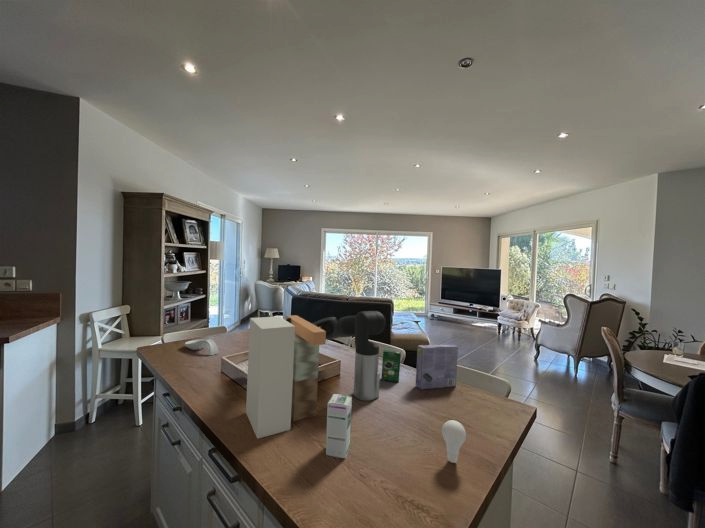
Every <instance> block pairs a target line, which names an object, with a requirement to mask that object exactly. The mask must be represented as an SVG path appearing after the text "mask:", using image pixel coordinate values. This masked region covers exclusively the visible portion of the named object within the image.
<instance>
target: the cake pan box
mask: <svg viewBox="0 0 705 528" xmlns="http://www.w3.org/2000/svg"><path fill="white" fill-rule="evenodd" d="M416 350H417V351H416V367H415V368H416V369H415V386H416V387H417V388H419V390H429V389H431V390H432V389H441V388H442V389H443V388H449V387H456V386H457V374H458V372H457V371H458V354H459V346H458V345H455V344H426V345H425V344H420V345H417V349H416Z"/></svg>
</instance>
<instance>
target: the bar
mask: <svg viewBox="0 0 705 528" xmlns="http://www.w3.org/2000/svg"><path fill="white" fill-rule="evenodd" d="M300 317H301V316H299V315H296V314H295V315H291V314H290V315H286V316H285V320H287V319H288V318H291V324H292V325H294V326H295V333H296V334H297V335H299V336H300V337H302V338H303V339H304V340H306V341H307V342H309V343H310V344H312V345H313V346H316V345H319V346H322V345H323V346H324V345H326V342H327V341H326V340H327V339H326V331H324V330H323V329H321V328H320V327H317V326H315V325H313V324H312V323H313V322H310V321H308V320H306V319H305V318H304V319H302V318H300Z"/></svg>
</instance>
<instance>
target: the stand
mask: <svg viewBox="0 0 705 528" xmlns="http://www.w3.org/2000/svg"><path fill="white" fill-rule="evenodd" d="M248 332H249V333H248V334H249V335H248V354H247V355H248V358H247V377H246V379H247V382H246V403H245V404H246V405H245V406H246V407H245V414H246V416H247V419H248V420H249V422H250V426H251V428H252V430H253V432H254V434H255V438H256V439H261V438H264V437H269V436H272V435H276V434H280V433H284V432H287V431H290V430H291V427H292V426H291V425H292V423H291V422H292V418H291V406H292V384H293V361H294V339H295V326H294V325H292V324H291V323H289V322H288V321H286V319H284V318H282V317H281V316H279V315H277V316H265V317H263V316H262V317H260V316H259V317H249V331H248Z"/></svg>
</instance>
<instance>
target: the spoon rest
mask: <svg viewBox="0 0 705 528" xmlns="http://www.w3.org/2000/svg"><path fill="white" fill-rule="evenodd" d="M184 345H185V347H187V348H188V349H190V350H192V351H199V350H202V348H203V349H204V348H206V346H207V345H208V347H209V356H211V355H212V356H215V354H216V355H218V354H219V349H218V346H217V344H216V342H215V341H214V340H213V339H212V338H208V339H206V338H204V339H203V338H201V339H200V338H199V339H192V340H188V341H185V343H184ZM198 349H199V350H198Z"/></svg>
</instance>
